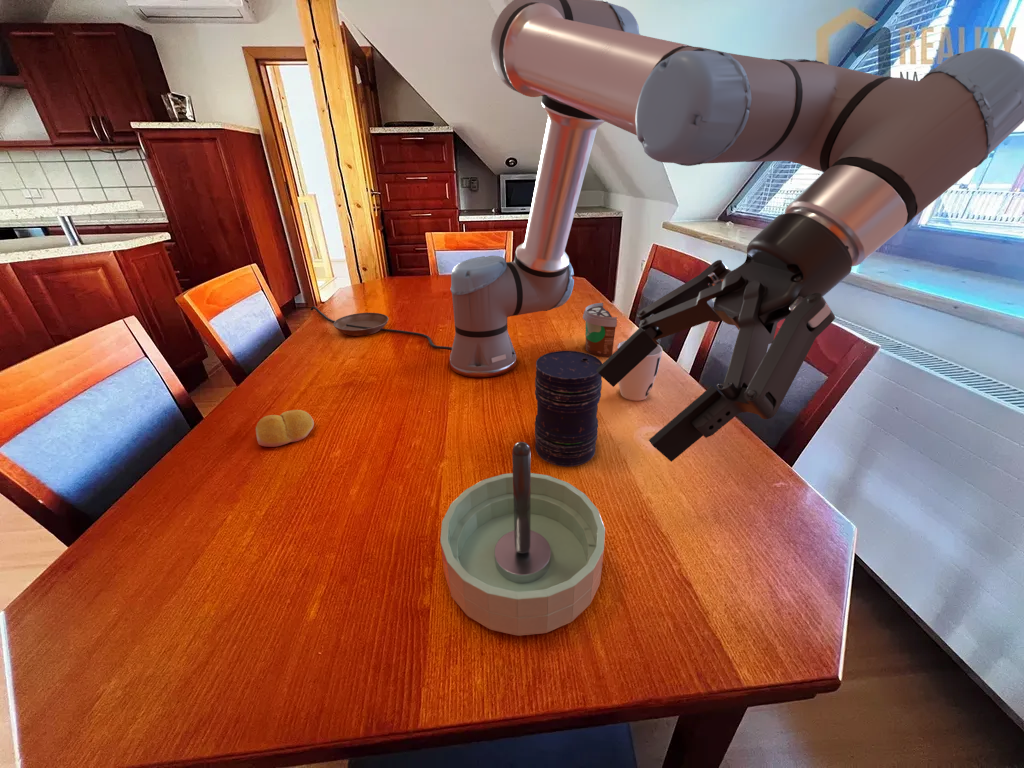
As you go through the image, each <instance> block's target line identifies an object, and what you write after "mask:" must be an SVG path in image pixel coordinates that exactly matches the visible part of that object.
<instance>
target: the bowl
mask: <svg viewBox="0 0 1024 768" xmlns="http://www.w3.org/2000/svg"><path fill="white" fill-rule="evenodd" d="M513 530H514V501H513V472H510V473H509V472H508V473H502V474H499V475H495V476H491V477H488V478H484V479H482V480H480V481H479V482H477V483H475V484H473V485H471V486H470V487H468V488H466V489H464V490H463V491H462V493H460V495H458V496H457V497H456V498H455V499H454V500H453V501H452V502H451V503H450V504H449V507H448V509H447V511H446V513H445V515H444V517H443V519H442V520H441V528H440V538H439V543H440V550H441V558H442V565H443V573H444V577H445V580H446V584H447V587H448V590H449V593H450V597H451V598H452V599H453V601H454V602H455V603H456V604H457V605H458V607H459V608H460V609H461V610H462V612H463V613H464V614H465V616H467V617H468V618H469V619H471V620H473V621H475V622H477V623H478V624H480V625H482V626H483V627H485V628H487V629H489V630H491V631H495V632H499V633H502V634H503V633H504V634H509V635H513V636H517V637H521V636H530V635H540V634H541V635H542V634H547V633H550V632H552V631H554V630H556V629H559V628H561V627H564V626H566V625H568V624H570V623H572V622H574V620H575V619H577V618H578V617H579V616H580V615H581V614H582V613H583V612H584V611H585V610H586V609H587V608H588V607H589V606H590V605H591V604H592V601H593V600H594V597H595V596H596V593H597V591H598V589H599V587H600V585H601V580H602V579H601V578H602V570H603V563H604V553H605V540H606V539H605V538H606V527H605V525H604V522H603V519H602V517H601V513H600V511H599V508H597V506H596V505H595V504H594V503H593V501H591V499H590V498H589V497H588V496H587V495H586V493H584V492H583V491H581V490H580V489H578V488H577V487H576V486H574V485H573V484H571V483H570V482H568V481H565V480H563V479H559V478H556V477H554V476H551V475H548V474H541V473H534V472H531V530H532V531H535V532H537V533H539V534H540V535H542V536H543V537H544V538H545V539H546V540H547V542H548V543H549V545H550V549H551V563H550V567H549V569H548V571H547V572H546V574H545V575H544V576H543V577H542V578H540V579H538V580H537V581H534V582H531V583H515V582H512V581H509V580H507V579H506V578H504V577H503V576H502V575H501V574H500V573H499V571H498V570H497V568H496V565H495V554H494V551H495V546H496V544H497V542H498V540H499V539H500V538H501V537H502V536H503V535H505V534H506V533H508V532H510V531H513Z"/></svg>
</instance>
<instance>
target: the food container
mask: <svg viewBox="0 0 1024 768" xmlns="http://www.w3.org/2000/svg"><path fill="white" fill-rule="evenodd" d="M582 319H583V320H584V322H585V350H586V352H588V354H590V355H593V356H599V357H608V358H609V357H610V356H611V355H612V354H613V350H614V349H613V348H614V343H615V342H614V340H615V334H616V328H617V327H618V320H617V319H618V317H617V316H612V314H611V313H610V312H609V311H608V310H607V309H605V307H604V302H597V303H592V304H589V305H587V306H586V307H585V309H584V310H583V314H582Z"/></svg>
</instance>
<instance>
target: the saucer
mask: <svg viewBox="0 0 1024 768" xmlns="http://www.w3.org/2000/svg"><path fill="white" fill-rule="evenodd" d="M389 318H390V317H388V315H386V314H384V313H381V312H380V313H379V312H359V313H352V314H348V315H344V316H341V317H339V318H338V319H336V320H334V321H335V322H334V323H332V324H333V325H332V326H333V327H334V328H335V329H336V330H337V331H339V332H340V333H342V334H344V335H347V336H351V337H352V336H353V337H362V336H369V335H373V334H376V333H378V332H381V331H380V330H381V329H384V327H386V325H387V324H388V322H389ZM346 324H348V325H355V326H362V327H372V328H368V329H362V328H356V327H350V326H346Z"/></svg>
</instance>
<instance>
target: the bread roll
mask: <svg viewBox="0 0 1024 768" xmlns="http://www.w3.org/2000/svg"><path fill="white" fill-rule="evenodd" d="M314 427H315V422H314V419H313V417H312V416H311V414H310V413H308V411H306V410H303V409H291V410H287V411H284V412H282V413H281V414H280V415H277V414H268V415H264V416H263V417H262V418H260V419H259V420H258V422H257V423H256V425H255V435H256V440H257V443H258V445H259V446H262V447H266V448H267V447H268V448H272V447H273V448H275V447H280V446H284V445H286V444H289V443H295V442H299V441H302V440H303V439H305V438H306V437H308V435H309V434H310V432H311V431H312V430H313V428H314Z"/></svg>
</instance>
